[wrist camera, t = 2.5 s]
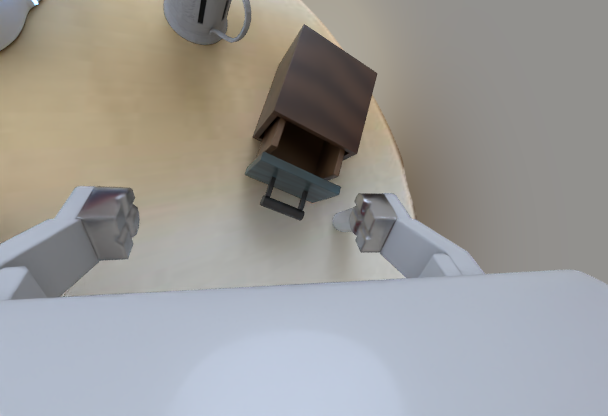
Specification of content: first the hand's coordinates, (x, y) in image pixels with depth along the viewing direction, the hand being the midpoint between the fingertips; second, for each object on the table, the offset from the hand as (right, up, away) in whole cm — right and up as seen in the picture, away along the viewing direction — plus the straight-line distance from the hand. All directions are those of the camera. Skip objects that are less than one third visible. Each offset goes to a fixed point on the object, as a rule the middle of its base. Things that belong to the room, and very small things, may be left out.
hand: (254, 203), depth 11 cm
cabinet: (+1, +15, +37) cm, 40 cm away
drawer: (-1, +6, +34) cm, 34 cm away
